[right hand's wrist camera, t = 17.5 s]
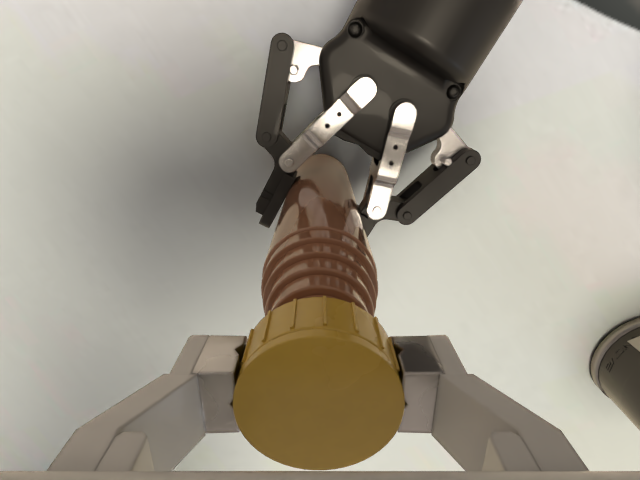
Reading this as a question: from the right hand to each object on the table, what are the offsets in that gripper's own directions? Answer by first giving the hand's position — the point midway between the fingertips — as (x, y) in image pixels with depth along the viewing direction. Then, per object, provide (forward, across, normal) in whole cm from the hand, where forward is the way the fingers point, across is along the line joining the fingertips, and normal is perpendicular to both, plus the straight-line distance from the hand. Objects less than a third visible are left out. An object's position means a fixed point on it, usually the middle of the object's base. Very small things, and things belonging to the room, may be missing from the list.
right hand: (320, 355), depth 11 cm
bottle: (+21, 0, 0) cm, 21 cm away
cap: (-2, 0, 0) cm, 2 cm away
